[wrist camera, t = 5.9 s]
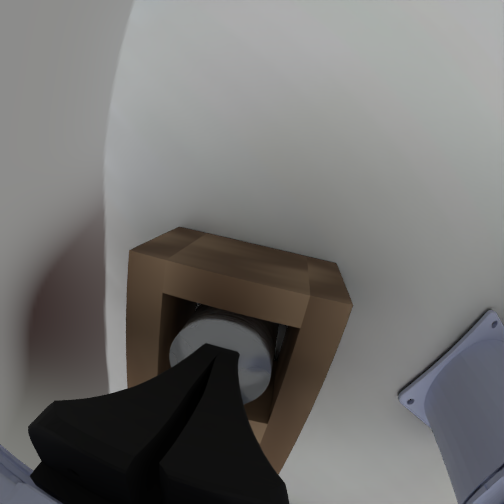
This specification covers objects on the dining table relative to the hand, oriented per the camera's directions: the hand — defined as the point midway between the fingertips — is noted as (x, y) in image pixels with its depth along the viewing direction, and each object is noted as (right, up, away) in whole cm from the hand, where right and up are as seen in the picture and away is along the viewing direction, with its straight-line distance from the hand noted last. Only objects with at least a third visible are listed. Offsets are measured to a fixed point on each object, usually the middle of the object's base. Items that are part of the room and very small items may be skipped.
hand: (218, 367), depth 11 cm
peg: (+1, +1, +5) cm, 5 cm away
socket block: (0, -2, +6) cm, 6 cm away
